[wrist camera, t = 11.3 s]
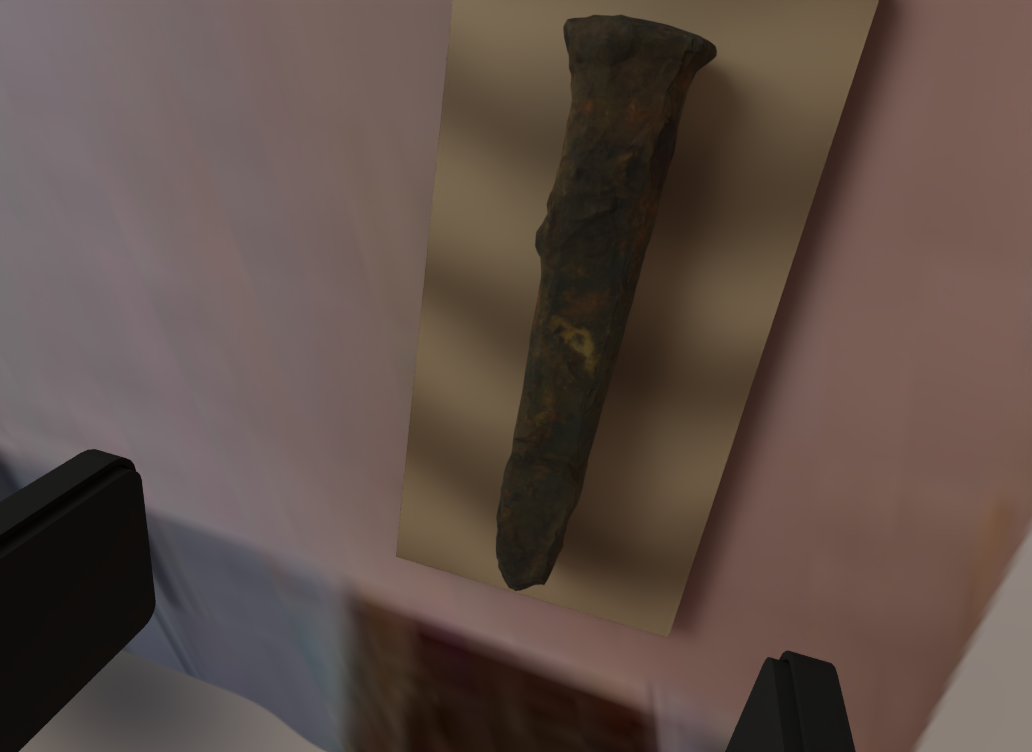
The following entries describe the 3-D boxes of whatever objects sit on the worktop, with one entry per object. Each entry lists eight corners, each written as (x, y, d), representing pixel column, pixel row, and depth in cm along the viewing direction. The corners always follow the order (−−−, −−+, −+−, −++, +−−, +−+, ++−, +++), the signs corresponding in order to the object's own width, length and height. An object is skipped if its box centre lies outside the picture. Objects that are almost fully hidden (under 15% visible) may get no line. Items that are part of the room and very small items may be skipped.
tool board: (477, -79, 21) (462, -91, 20) (876, -24, 19) (890, -34, 18) (409, 536, 31) (396, 556, 30) (669, 613, 29) (668, 637, 28)
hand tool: (586, 13, 20) (555, -10, 16) (719, 42, 19) (724, 27, 15) (473, 520, 28) (433, 594, 24) (565, 551, 27) (541, 632, 23)
